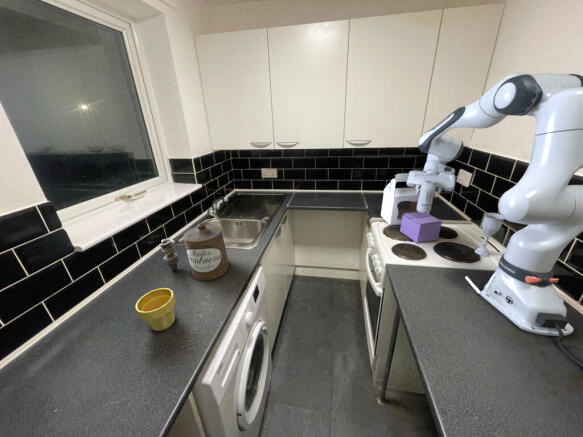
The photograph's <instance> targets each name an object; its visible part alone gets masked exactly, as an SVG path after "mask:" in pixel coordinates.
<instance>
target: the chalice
mask: <svg viewBox="0 0 583 437" xmlns="http://www.w3.org/2000/svg"><path fill="white" fill-rule="evenodd" d="M483 216H484V217H483V221H482V223H481V229H482V232H483V235H484V236H485V237H484V238H483V242H482V246H478V247H477V248H476V249H474V253H475V254H477V255H479V256H483V257H488V256H489V255H490V254H489V249H488V248H487V247H486V246H487V245H488V241H489V237H492V236H494V235H495V234H496V233H497V232H499V230H501V227H502V225H503V223H504V221H505V219H504V218H503V217H502V215H501V214H500V213H495V212H485V213H483Z"/></svg>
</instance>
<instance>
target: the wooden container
mask: <svg viewBox="0 0 583 437" xmlns="http://www.w3.org/2000/svg"><path fill="white" fill-rule="evenodd" d="M182 237H183V242H184V245H185V249H186V253H187V257H188V261H189V266H190V269H191V272H192V276H193V277H194V278H195V279H197V280H199V281H210V280H214V279H217V278H220V277H222V276H223V275H224V274H226V273H227V271H228V270H229V267H230V265H229V259H228V253H227V248H226V244H225V239H224V234H223V230H222V227H221V226H219V225H216V224H206V223H204V222H198V224H197V225H196V226H195V227H193V228H192V227H191V228H190V229H188V230H187V231H185V232H184V234H183V236H182Z"/></svg>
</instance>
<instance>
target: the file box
mask: <svg viewBox="0 0 583 437" xmlns="http://www.w3.org/2000/svg"><path fill="white" fill-rule="evenodd" d="M429 216H433V215H431V214H430V213H429V214H428V213H421V212H413V213H405V214H403V217H402V222H401V224H400V229H399V232H401V233H402V234H403V235H404V236H406V237H408V238H409V239H410V240H412V241H414V242H415V243H416V244H417V243H424V242H430V241H437V240H438V239H439V236H440V232H441V229H442V228H441V227H442V225H443V221H442V222H435V223H428V224H419V223H417V222H415V221H413V220H412V219H414V218H422V217H429Z"/></svg>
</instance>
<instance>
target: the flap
mask: <svg viewBox="0 0 583 437" xmlns="http://www.w3.org/2000/svg"><path fill="white" fill-rule="evenodd" d="M412 220H413V221H415V222H417V223H419V224H428V223H435V222H442V223H443V220H442V219H439V218H437V217H435V216H433V215H432V216H429V217H422V218H414V219H412Z"/></svg>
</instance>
